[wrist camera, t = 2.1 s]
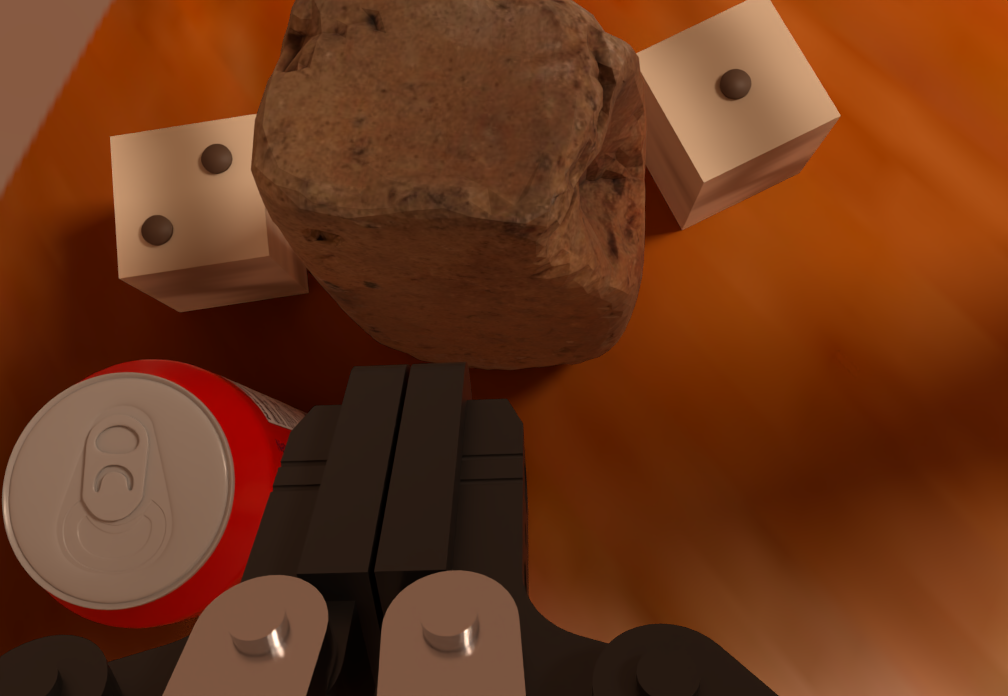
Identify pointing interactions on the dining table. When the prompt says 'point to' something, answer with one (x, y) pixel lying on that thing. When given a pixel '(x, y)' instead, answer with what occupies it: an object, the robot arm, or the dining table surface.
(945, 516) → the dining table surface
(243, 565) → the soda can
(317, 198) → the block
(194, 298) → the dotted cube two
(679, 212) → the dotted cube one
